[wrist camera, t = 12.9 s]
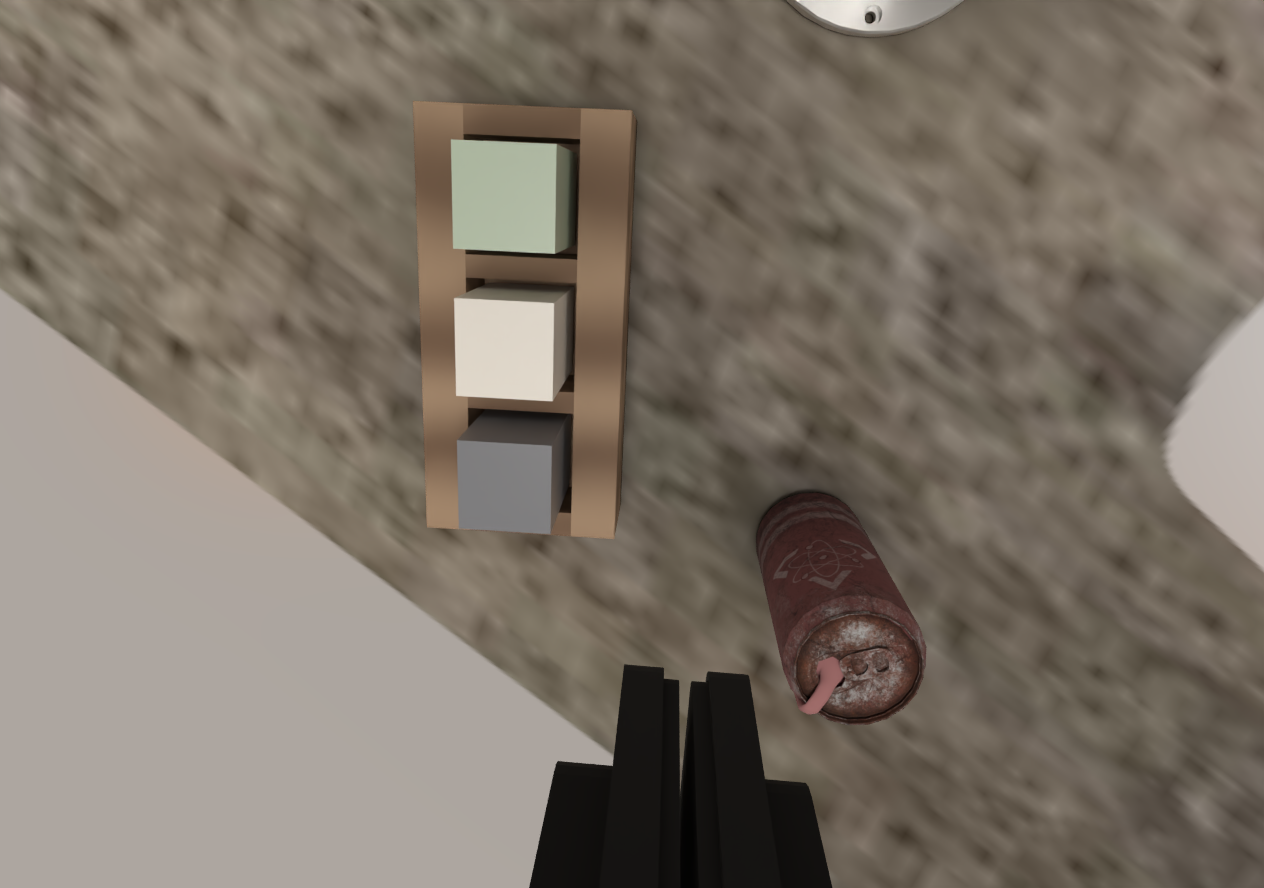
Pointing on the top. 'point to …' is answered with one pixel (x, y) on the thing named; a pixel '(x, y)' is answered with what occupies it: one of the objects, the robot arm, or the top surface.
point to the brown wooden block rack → (586, 266)
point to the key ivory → (513, 341)
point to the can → (837, 613)
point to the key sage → (513, 196)
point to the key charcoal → (513, 470)
